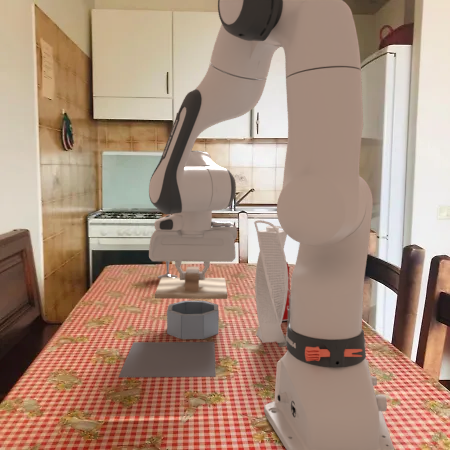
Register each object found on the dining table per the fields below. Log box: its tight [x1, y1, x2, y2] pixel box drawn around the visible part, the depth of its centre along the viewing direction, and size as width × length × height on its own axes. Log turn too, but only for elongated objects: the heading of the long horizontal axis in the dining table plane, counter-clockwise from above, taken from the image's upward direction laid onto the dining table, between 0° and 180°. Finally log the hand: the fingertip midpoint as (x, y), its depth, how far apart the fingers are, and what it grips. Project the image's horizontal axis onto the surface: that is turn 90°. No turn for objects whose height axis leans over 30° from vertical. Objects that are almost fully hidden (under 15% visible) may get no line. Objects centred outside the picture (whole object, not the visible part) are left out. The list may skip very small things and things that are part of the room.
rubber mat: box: [118, 341, 217, 378], centre depth 99 cm, size 18×18×1 cm
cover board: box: [154, 266, 229, 300], centre depth 114 cm, size 16×16×4 cm
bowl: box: [166, 300, 220, 340], centre depth 115 cm, size 12×12×6 cm
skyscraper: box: [253, 219, 291, 348], centre depth 109 cm, size 8×8×28 cm
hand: (192, 279), depth 114 cm, fingers closed on cover board, 3 cm apart
